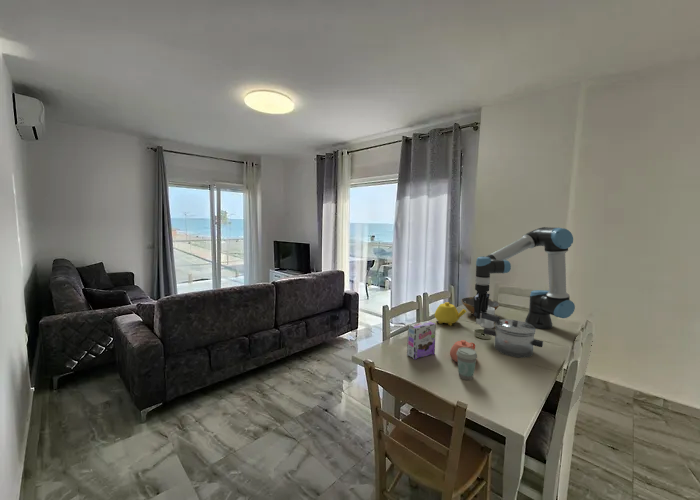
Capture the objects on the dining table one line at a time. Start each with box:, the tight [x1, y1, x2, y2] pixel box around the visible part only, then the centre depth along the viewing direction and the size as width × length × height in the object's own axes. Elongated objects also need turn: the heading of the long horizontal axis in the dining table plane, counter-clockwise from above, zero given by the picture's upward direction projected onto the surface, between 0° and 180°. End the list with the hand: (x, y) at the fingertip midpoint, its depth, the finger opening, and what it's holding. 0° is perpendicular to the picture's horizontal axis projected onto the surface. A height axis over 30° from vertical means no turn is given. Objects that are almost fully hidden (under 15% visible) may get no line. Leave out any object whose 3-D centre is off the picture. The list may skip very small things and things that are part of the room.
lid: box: [473, 312, 537, 334], centre depth 165 cm, size 32×19×4 cm, turn 35°
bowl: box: [460, 296, 500, 316], centre depth 218 cm, size 25×25×10 cm
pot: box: [483, 325, 544, 358], centre depth 161 cm, size 28×19×12 cm, turn 49°
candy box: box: [406, 320, 437, 360], centre depth 154 cm, size 14×6×16 cm, turn 117°
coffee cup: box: [456, 347, 478, 381], centre depth 133 cm, size 8×9×12 cm
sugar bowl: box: [449, 339, 476, 363], centre depth 149 cm, size 12×14×10 cm
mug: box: [479, 307, 496, 329], centre depth 195 cm, size 12×8×12 cm
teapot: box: [434, 301, 467, 327], centre depth 201 cm, size 20×16×14 cm
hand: (480, 323), depth 176 cm, fingers closed on lid, 3 cm apart
